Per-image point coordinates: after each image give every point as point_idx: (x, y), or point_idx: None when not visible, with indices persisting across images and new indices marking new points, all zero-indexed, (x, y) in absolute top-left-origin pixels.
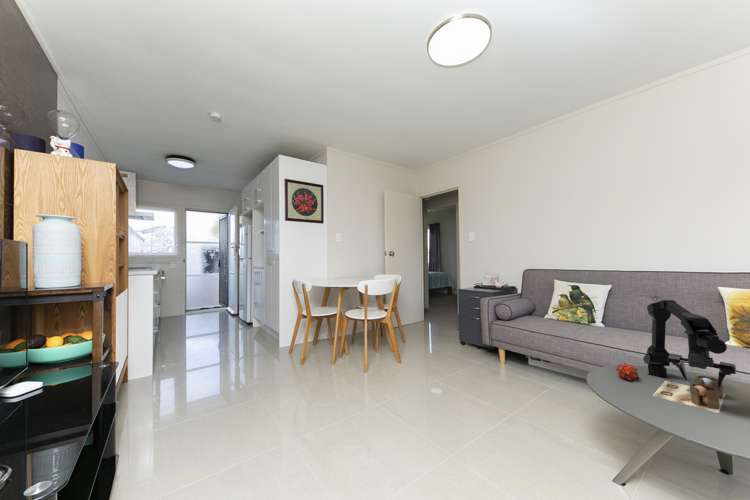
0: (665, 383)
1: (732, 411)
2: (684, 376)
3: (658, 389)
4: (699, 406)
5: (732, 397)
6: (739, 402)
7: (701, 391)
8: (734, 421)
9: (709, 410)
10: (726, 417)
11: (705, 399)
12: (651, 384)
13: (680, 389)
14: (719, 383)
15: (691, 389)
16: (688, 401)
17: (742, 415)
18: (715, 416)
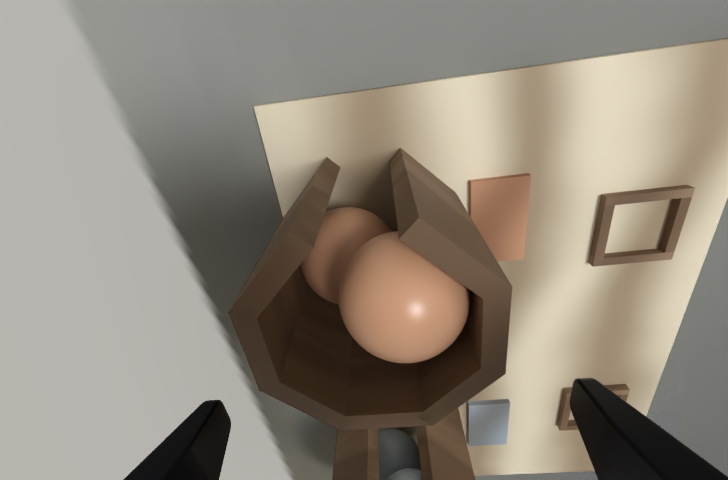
0: None
1: (243, 268)
2: (643, 435)
3: (690, 281)
4: (389, 132)
5: (325, 468)
6: (284, 431)
7: (377, 249)
8: (137, 38)
9: (312, 100)
10: (205, 87)
11: (356, 221)
12: (715, 365)
13: (542, 394)
14: (158, 462)
15: (478, 245)
16: (474, 180)
17: (185, 244)
18: (252, 15)
